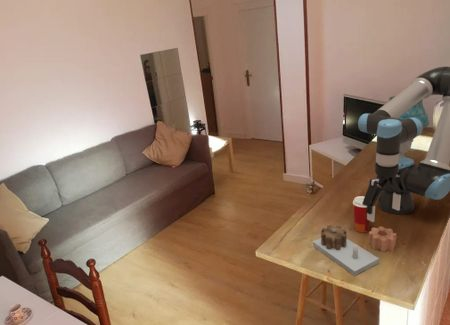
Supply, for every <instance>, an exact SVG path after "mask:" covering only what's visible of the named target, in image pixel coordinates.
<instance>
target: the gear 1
mask: <svg viewBox="0 0 450 325" xmlns="http://www.w3.org/2000/svg"><path fill="white" fill-rule="evenodd" d="M320 238H321V244H322V246H324V245H326V246H327V249H330V250H331V248H335V249H336V250H340V247H344V248H345V247H346V239H348V238H347V230H346V229H345V228H343V229H342V227H341V226H340V225H336V226H332V225H327V227H326V228H325V227H323V228H322V229H321V232H320Z"/></svg>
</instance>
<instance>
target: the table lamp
mask: <svg viewBox="0 0 450 325" xmlns="http://www.w3.org/2000/svg"><path fill="white" fill-rule="evenodd" d="M395 96H396V95H393V96H390V97H389V98H388V102H389V101H390V100H392V99H393V98H394V97H395ZM423 102H424V99H422V100H420V101H419V102H418V103H417V104H415V105H414V106H413V107H412V108H410V109H409V110H408V111H407V112H405V113H404V114H403V115H401V116H400V117H399V119H406V118H412V117H413V118H417V119H419V120H420V121H421V123H422V125H423V129H425V128H426V127H428V126H429V124H430V121H429V116H428V114H427V113H426V109H425V107H424V104H423ZM413 142H414V139H411V140H409V141H406V142H404V143H401V144H400V154H399V157H405V158H407V157H406V155H405V154H406V153H407V152H409V150H410V149H411V147H412V143H413Z"/></svg>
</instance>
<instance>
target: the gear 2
mask: <svg viewBox="0 0 450 325" xmlns="http://www.w3.org/2000/svg"><path fill="white" fill-rule="evenodd" d="M368 245H371V249H374V250H379V251H380V252H384V253H385V252H386V251H390V252H391V251H394V250H395V247H396V246H397V233H396V232H394V230H393V229H392V228H385V227H384V226H378V227H374V226H373V227H371V229H370V230H368Z"/></svg>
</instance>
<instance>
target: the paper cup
mask: <svg viewBox="0 0 450 325" xmlns="http://www.w3.org/2000/svg"><path fill="white" fill-rule="evenodd" d="M364 198H365V195H364V196H362V195H361V196H360V195H359V196H355V197H354V199H353V201H352V204H353V218H354V219H353V220H354V221H353V222H354V230H355V231H356V232H359V233H367V232H369V231H370V230H369V229H370V223H371V221H369V220H367V206H365V205H363V204H362V203H363V200H364Z"/></svg>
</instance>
